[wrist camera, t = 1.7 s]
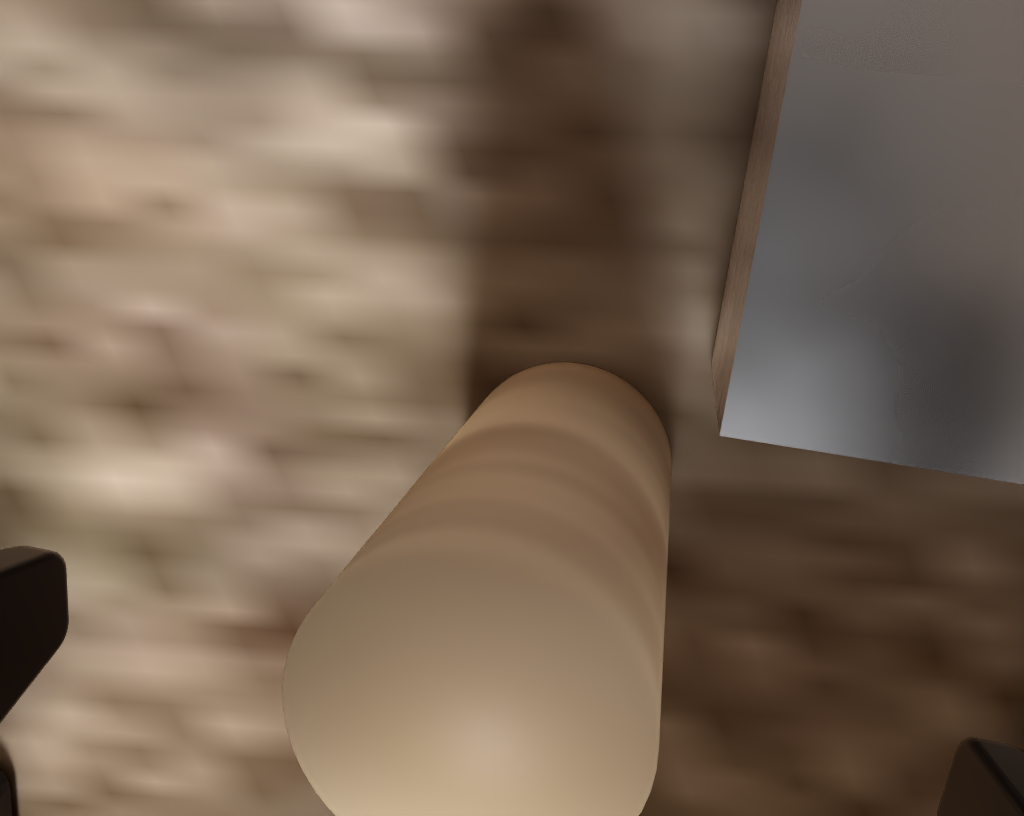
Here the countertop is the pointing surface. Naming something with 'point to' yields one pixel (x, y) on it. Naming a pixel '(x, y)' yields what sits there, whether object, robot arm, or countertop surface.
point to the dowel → (501, 619)
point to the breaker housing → (883, 239)
